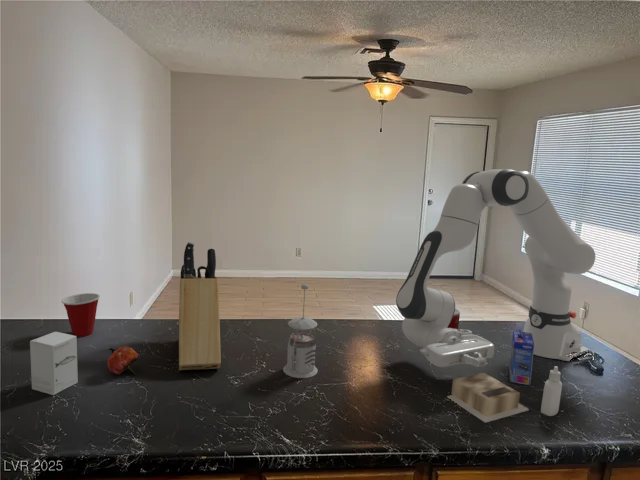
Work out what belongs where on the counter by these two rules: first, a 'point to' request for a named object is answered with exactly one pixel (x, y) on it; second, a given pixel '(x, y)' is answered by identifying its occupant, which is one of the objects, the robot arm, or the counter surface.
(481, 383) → the block
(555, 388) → the eye dropper bottle
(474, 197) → the robot arm
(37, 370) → the supplement box
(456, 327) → the canned food
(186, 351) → the knife block
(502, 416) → the mat
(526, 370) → the ink cartridge box
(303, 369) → the french press
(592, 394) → the counter surface
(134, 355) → the red rounded lump
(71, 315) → the plastic cup
